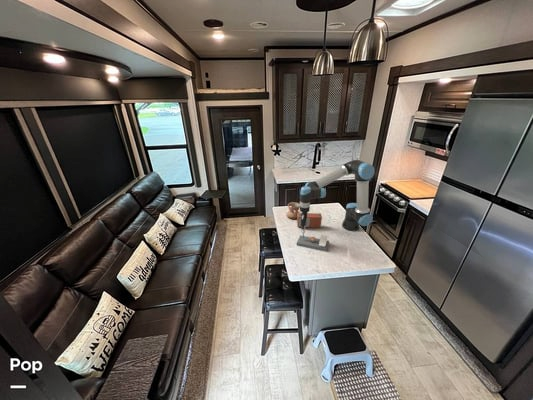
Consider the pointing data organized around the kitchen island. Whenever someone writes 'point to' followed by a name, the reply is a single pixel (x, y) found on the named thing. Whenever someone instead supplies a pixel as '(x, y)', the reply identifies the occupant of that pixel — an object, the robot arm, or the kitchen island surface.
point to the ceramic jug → (293, 210)
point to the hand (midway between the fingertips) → (303, 232)
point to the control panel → (310, 220)
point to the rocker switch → (323, 240)
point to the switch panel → (311, 243)
